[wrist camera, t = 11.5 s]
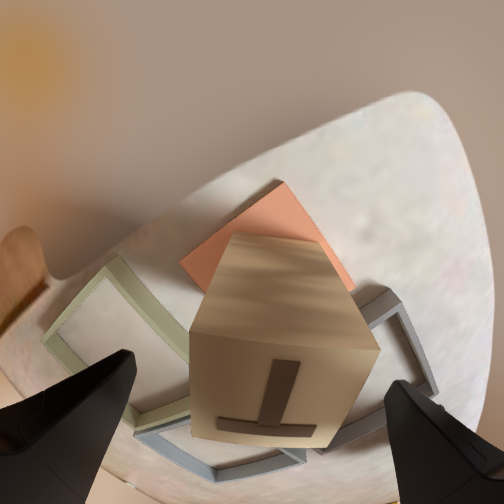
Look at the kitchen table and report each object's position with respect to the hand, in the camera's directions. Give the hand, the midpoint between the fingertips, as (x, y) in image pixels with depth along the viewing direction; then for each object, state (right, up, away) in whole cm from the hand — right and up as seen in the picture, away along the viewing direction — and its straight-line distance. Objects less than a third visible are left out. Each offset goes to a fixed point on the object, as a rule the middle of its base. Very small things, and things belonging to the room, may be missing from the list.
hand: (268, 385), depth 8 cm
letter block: (+1, +3, +9) cm, 9 cm away
